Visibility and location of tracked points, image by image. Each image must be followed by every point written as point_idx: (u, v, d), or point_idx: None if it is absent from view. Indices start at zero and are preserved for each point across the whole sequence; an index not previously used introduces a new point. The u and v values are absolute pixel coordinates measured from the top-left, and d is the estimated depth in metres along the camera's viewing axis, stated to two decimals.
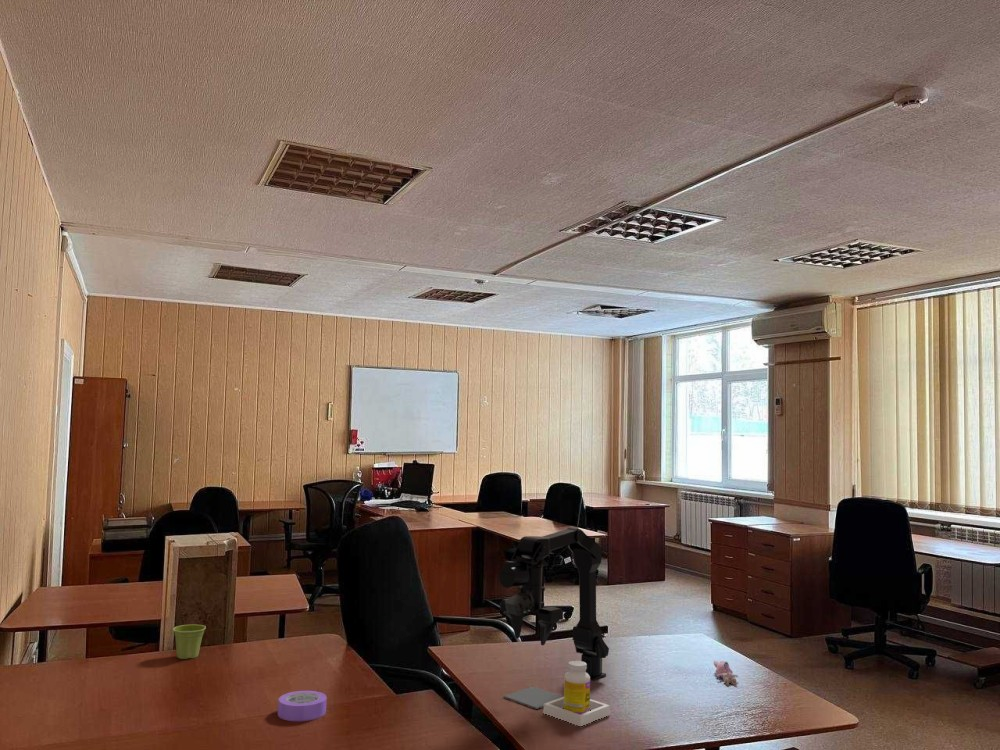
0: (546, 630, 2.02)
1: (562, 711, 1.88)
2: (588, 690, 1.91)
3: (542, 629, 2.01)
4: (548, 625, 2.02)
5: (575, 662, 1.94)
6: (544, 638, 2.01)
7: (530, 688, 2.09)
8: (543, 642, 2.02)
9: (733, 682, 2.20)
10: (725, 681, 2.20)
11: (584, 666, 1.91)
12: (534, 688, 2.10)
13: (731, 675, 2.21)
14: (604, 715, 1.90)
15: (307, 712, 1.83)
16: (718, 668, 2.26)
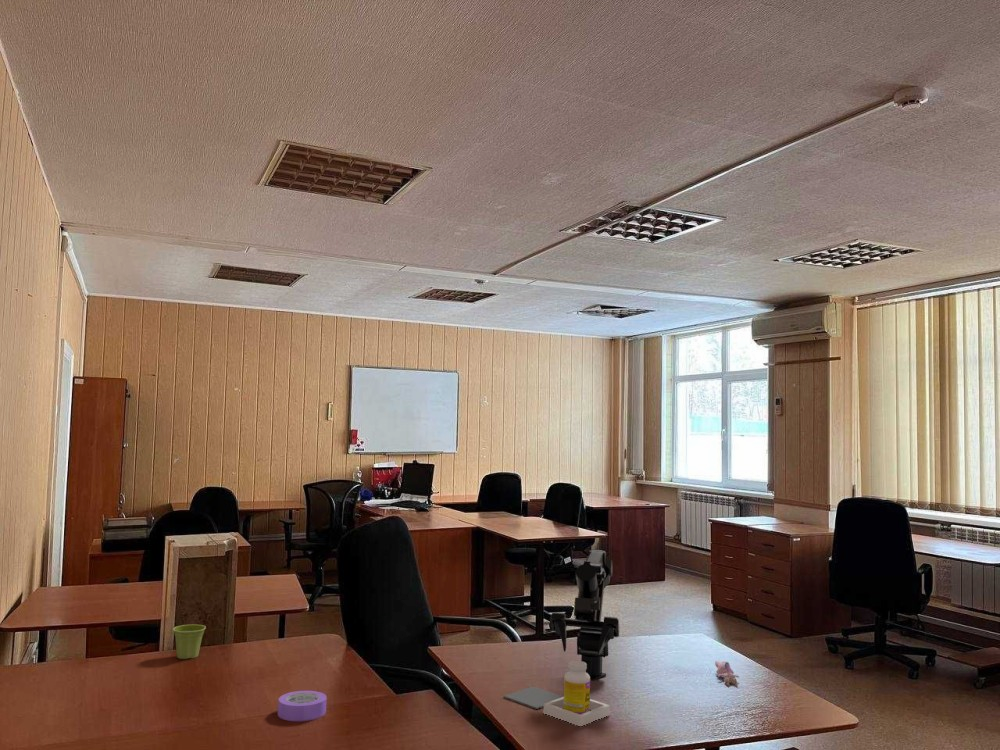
0: (604, 640, 2.03)
1: (562, 711, 1.88)
2: (588, 690, 1.91)
3: (602, 636, 2.02)
4: (605, 638, 2.04)
5: (575, 662, 1.94)
6: (601, 647, 2.01)
7: (530, 688, 2.09)
8: (600, 651, 2.00)
9: (734, 682, 2.20)
10: (725, 681, 2.20)
11: (584, 666, 1.91)
12: (534, 688, 2.10)
13: (732, 675, 2.21)
14: (604, 715, 1.90)
15: (307, 712, 1.83)
16: (719, 668, 2.26)
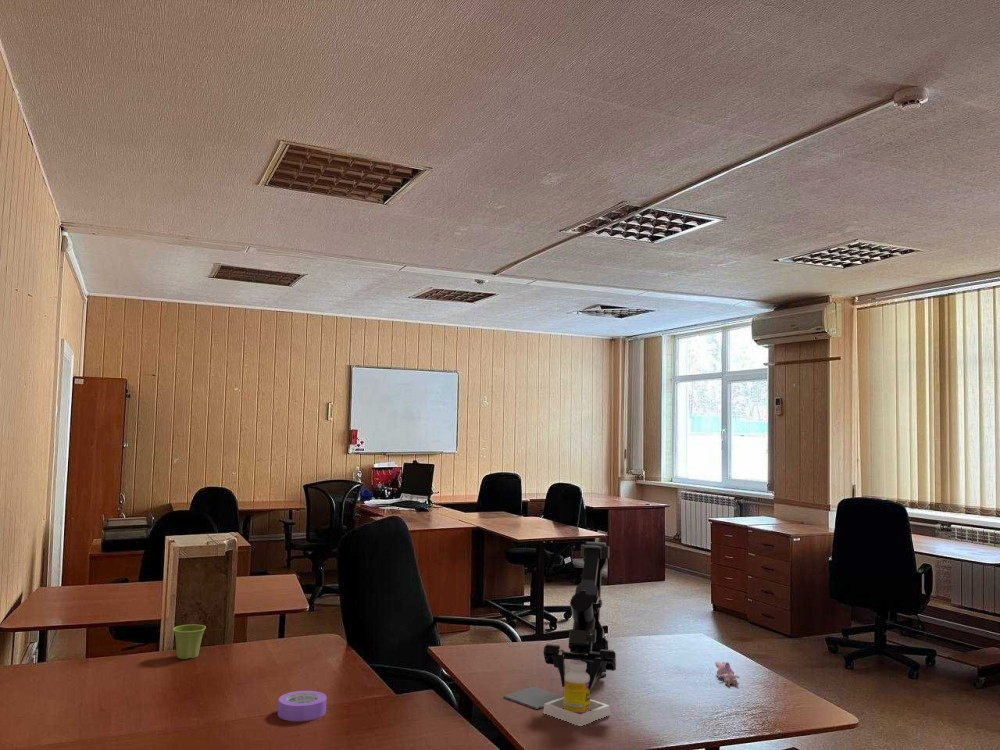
0: (596, 674, 1.93)
1: (562, 711, 1.88)
2: (588, 690, 1.91)
3: (594, 669, 1.93)
4: (596, 671, 1.94)
5: (575, 661, 1.94)
6: (593, 681, 1.91)
7: (530, 688, 2.09)
8: (591, 685, 1.91)
9: (734, 683, 2.19)
10: (726, 682, 2.19)
11: (584, 666, 1.91)
12: (534, 688, 2.10)
13: (732, 676, 2.20)
14: (604, 715, 1.90)
15: (307, 712, 1.83)
16: (719, 669, 2.26)
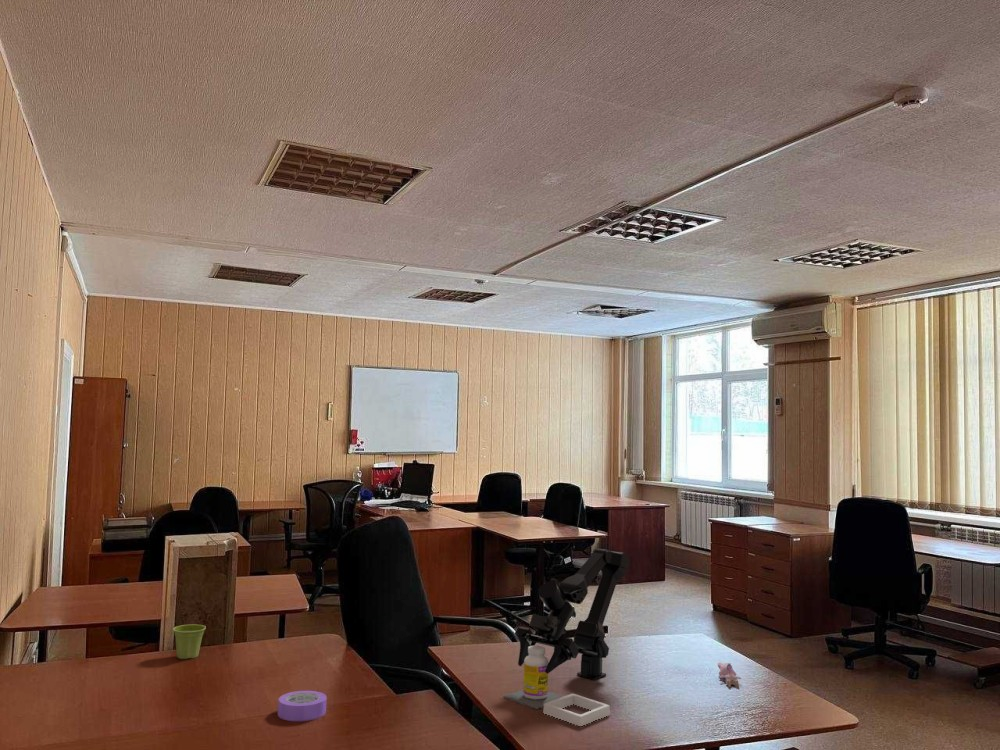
0: (556, 660, 2.01)
1: (562, 711, 1.88)
2: (542, 674, 2.01)
3: (554, 655, 2.01)
4: (559, 657, 2.02)
5: (536, 646, 2.05)
6: (551, 666, 2.00)
7: None
8: (548, 669, 2.00)
9: (735, 684, 2.18)
10: (727, 683, 2.18)
11: (539, 651, 2.02)
12: None
13: (733, 677, 2.19)
14: (604, 715, 1.90)
15: (307, 712, 1.83)
16: (721, 670, 2.25)
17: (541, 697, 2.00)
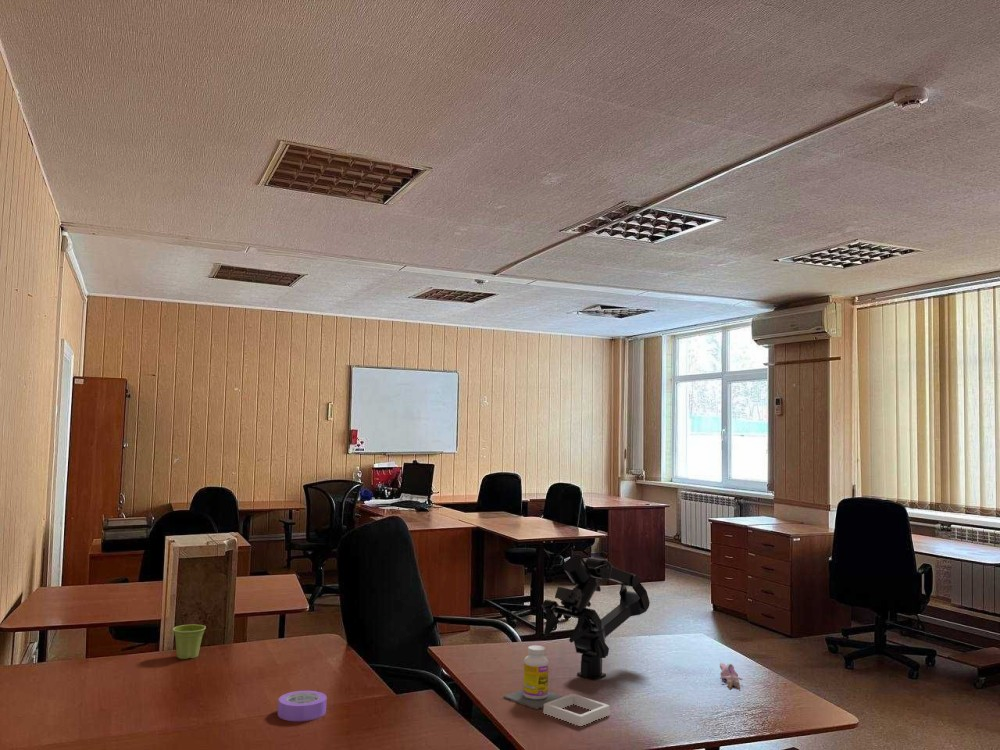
0: (580, 630, 2.12)
1: (562, 711, 1.88)
2: (542, 674, 2.01)
3: (577, 625, 2.12)
4: (583, 628, 2.13)
5: (536, 646, 2.05)
6: (574, 635, 2.11)
7: None
8: (572, 639, 2.11)
9: (736, 685, 2.17)
10: (728, 684, 2.18)
11: (539, 651, 2.02)
12: None
13: (734, 678, 2.18)
14: (604, 715, 1.90)
15: (307, 712, 1.83)
16: (723, 670, 2.24)
17: (541, 697, 2.00)
